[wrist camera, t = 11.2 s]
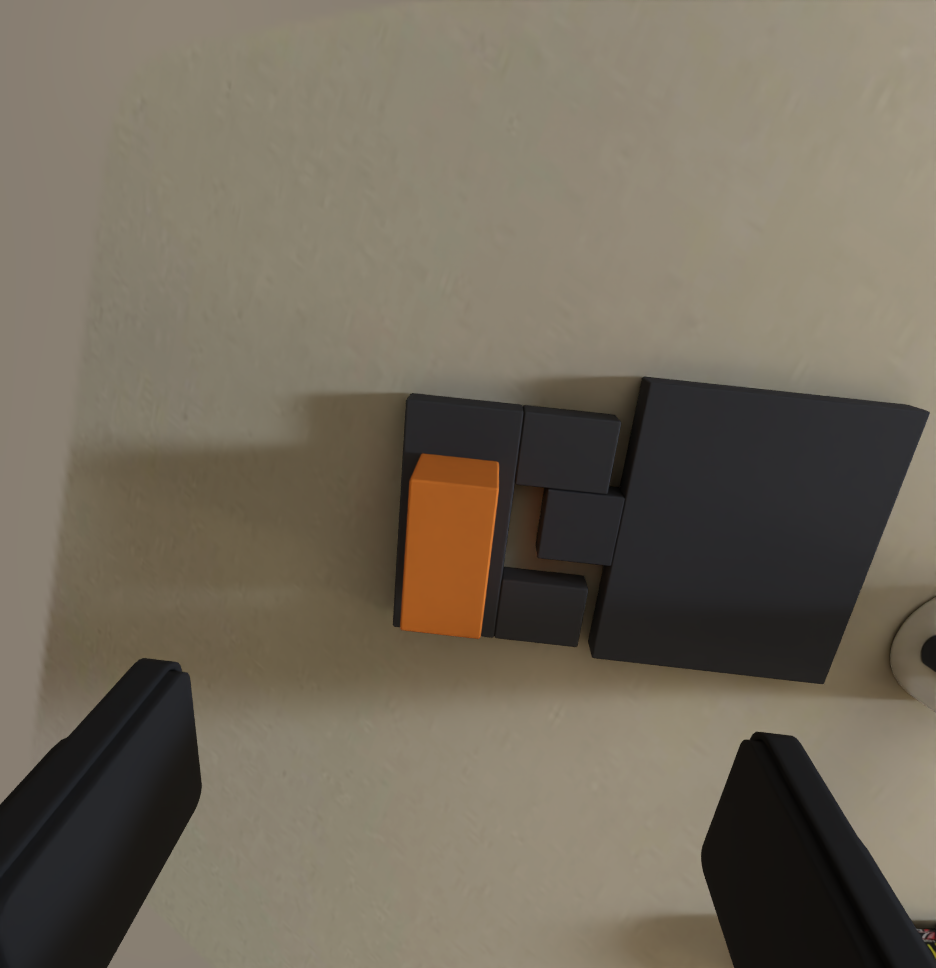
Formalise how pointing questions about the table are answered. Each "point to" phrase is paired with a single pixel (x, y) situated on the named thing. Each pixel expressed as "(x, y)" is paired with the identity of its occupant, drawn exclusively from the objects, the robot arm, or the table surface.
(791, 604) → the charcoal pad
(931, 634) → the beer glass
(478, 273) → the table surface
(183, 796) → the robot arm
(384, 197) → the table surface
